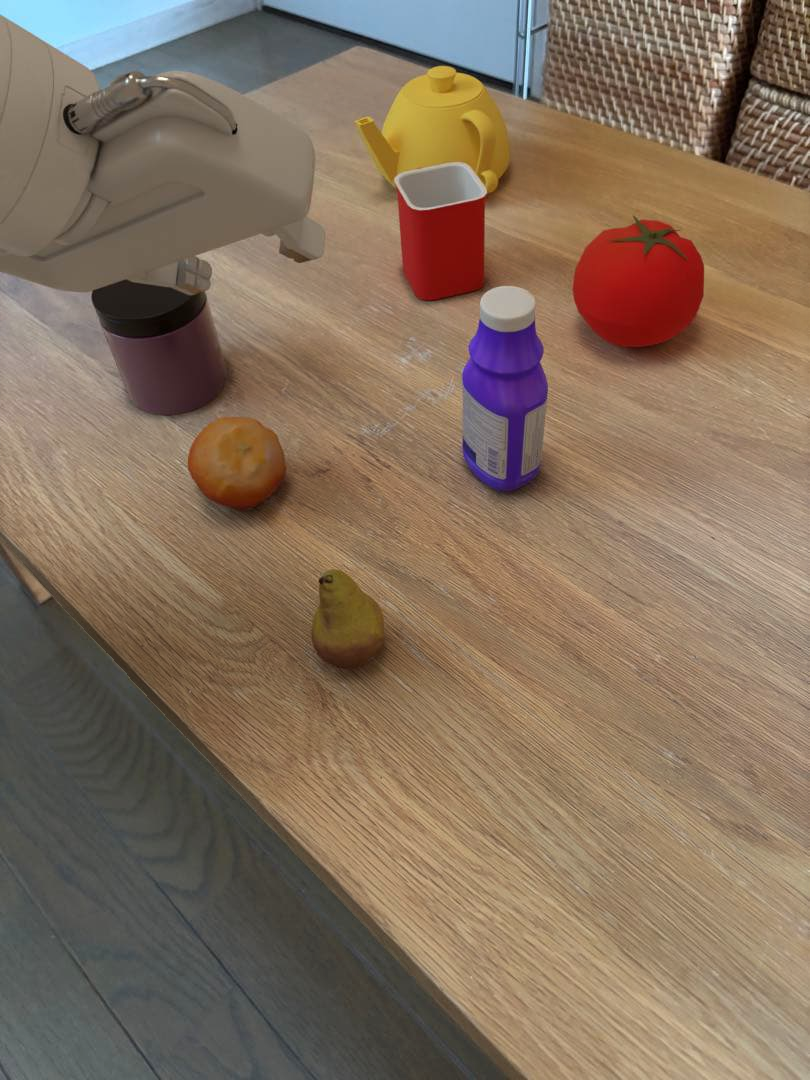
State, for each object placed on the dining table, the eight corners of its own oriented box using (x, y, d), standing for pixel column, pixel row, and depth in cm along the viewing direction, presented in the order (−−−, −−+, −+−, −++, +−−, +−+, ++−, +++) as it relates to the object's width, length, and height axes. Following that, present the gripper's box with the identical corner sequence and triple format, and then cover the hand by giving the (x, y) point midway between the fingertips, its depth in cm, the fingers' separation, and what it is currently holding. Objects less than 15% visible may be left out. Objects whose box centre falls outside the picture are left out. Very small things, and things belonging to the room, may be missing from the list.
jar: (119, 418, 84) (82, 328, 76) (137, 354, 90) (104, 265, 82) (222, 411, 83) (195, 321, 75) (232, 347, 90) (208, 257, 82)
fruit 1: (223, 428, 79) (241, 386, 73) (286, 487, 80) (310, 450, 73) (160, 482, 75) (172, 443, 69) (227, 544, 76) (246, 511, 69)
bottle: (553, 477, 75) (570, 307, 62) (502, 507, 73) (507, 338, 60) (501, 432, 79) (506, 264, 66) (451, 459, 77) (446, 291, 64)
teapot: (461, 133, 117) (460, 30, 108) (547, 188, 107) (554, 80, 97) (333, 178, 111) (319, 74, 102) (410, 242, 101) (403, 132, 91)
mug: (490, 289, 94) (492, 196, 85) (418, 305, 92) (412, 213, 84) (455, 234, 101) (454, 144, 93) (388, 248, 100) (380, 158, 92)
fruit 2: (405, 651, 64) (393, 549, 55) (343, 696, 62) (320, 597, 53) (360, 606, 67) (342, 502, 58) (300, 646, 65) (271, 545, 56)
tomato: (693, 373, 83) (717, 276, 75) (563, 363, 85) (573, 268, 77) (692, 293, 91) (714, 198, 83) (574, 285, 93) (583, 192, 85)
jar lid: (87, 340, 77) (79, 322, 75) (108, 277, 83) (102, 259, 82) (198, 333, 76) (193, 315, 75) (211, 270, 83) (206, 252, 81)
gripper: (162, -20, 31) (403, 160, 42) (-71, 143, 44) (157, 249, 55) (140, 143, 31) (391, 285, 41) (-90, 260, 44) (145, 345, 54)
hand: (256, 265), depth 48 cm, fingers open, 8 cm apart
